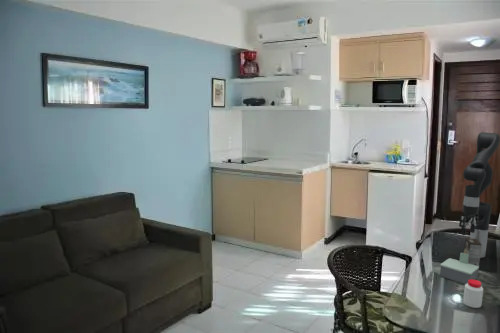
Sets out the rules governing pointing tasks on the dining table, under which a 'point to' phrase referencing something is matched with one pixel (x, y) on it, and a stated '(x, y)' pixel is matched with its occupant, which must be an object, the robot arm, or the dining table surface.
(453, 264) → the snap lid
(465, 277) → the parts tub
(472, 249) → the coffee box
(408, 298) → the dining table surface
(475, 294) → the pill bottle
